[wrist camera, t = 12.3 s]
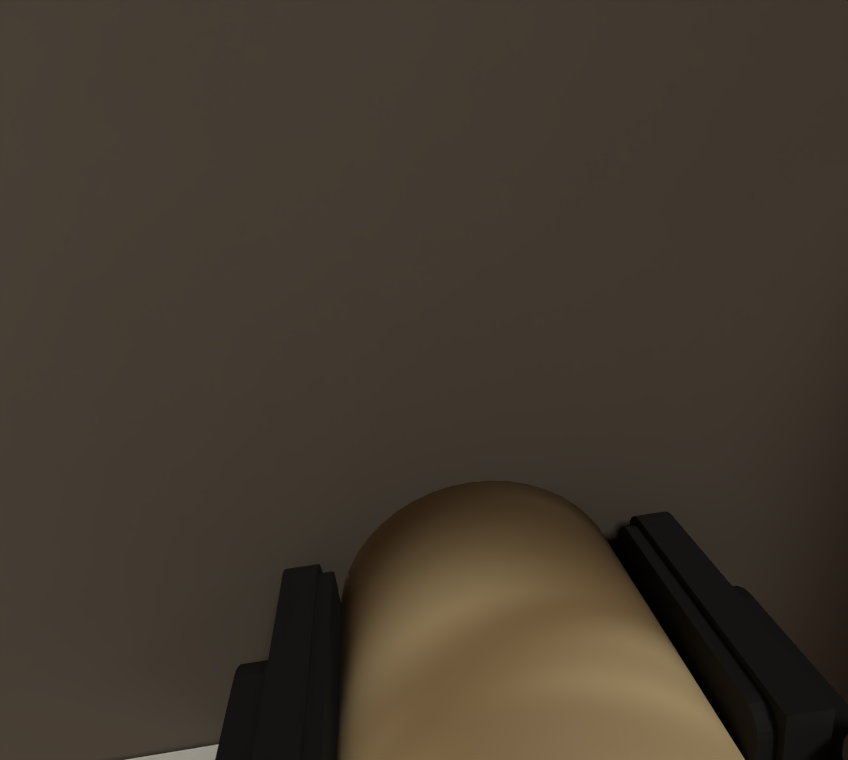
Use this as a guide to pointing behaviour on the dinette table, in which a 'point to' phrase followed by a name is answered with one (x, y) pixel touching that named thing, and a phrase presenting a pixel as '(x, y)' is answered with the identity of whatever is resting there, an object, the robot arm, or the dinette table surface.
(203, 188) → the dinette table surface
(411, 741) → the maple bead
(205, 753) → the groove tray
